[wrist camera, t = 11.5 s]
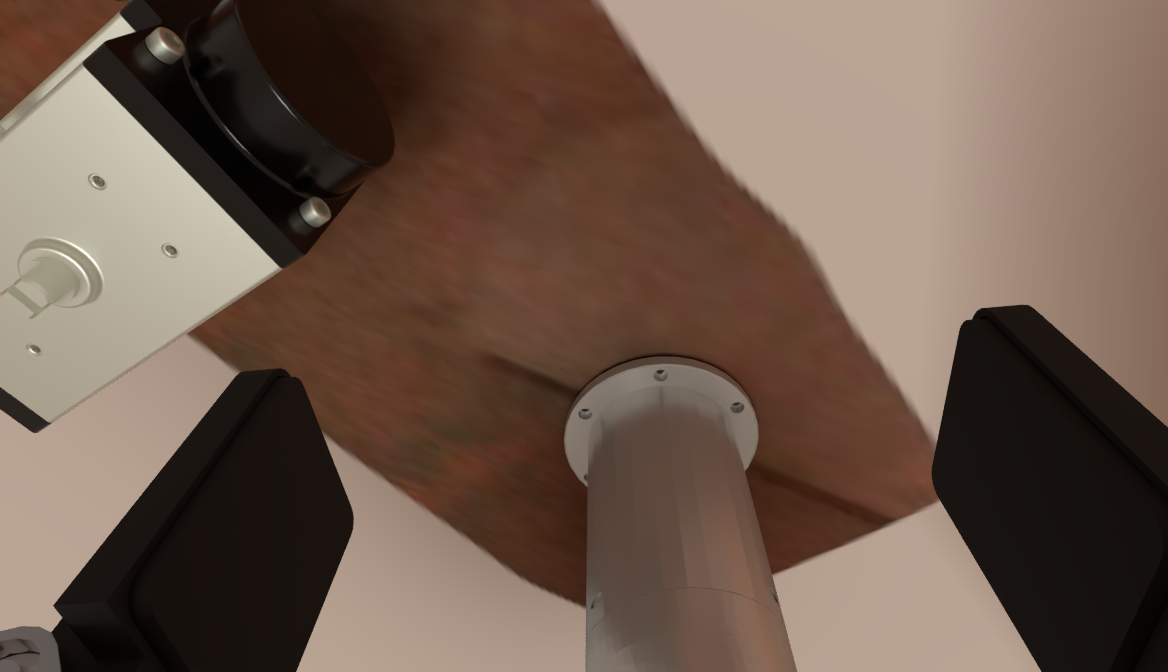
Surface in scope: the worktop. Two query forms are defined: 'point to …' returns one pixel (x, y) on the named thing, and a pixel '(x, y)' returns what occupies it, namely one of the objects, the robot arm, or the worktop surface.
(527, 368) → the worktop surface
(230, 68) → the ball valve
